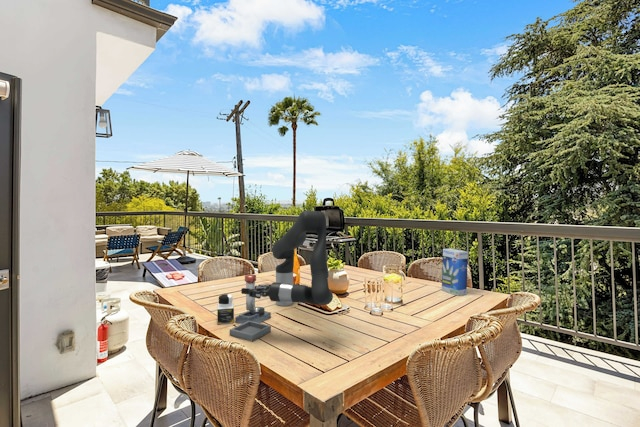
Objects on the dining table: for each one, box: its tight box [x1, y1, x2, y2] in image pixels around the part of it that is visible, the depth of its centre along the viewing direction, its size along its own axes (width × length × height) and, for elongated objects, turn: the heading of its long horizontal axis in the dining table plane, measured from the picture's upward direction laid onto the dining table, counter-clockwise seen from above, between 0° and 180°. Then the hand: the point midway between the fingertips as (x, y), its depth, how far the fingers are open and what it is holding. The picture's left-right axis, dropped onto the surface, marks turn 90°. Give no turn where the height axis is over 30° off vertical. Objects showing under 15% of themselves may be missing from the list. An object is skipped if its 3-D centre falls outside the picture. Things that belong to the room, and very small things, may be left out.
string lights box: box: [441, 247, 469, 297], centre depth 209 cm, size 13×8×26 cm, turn 25°
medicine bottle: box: [216, 293, 235, 325], centre depth 159 cm, size 7×7×12 cm
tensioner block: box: [234, 306, 272, 325], centre depth 161 cm, size 13×10×5 cm
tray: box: [229, 321, 272, 343], centre depth 145 cm, size 12×12×2 cm
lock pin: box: [244, 274, 257, 311], centre depth 144 cm, size 5×5×14 cm
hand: (244, 289), depth 145 cm, fingers closed on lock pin, 3 cm apart
